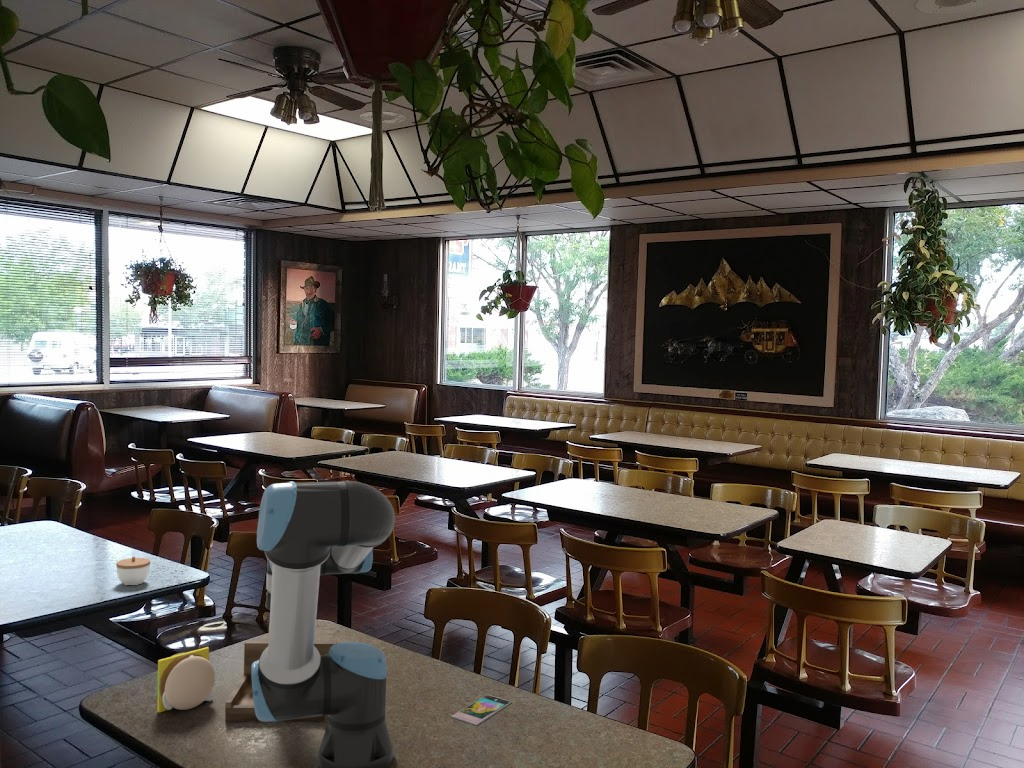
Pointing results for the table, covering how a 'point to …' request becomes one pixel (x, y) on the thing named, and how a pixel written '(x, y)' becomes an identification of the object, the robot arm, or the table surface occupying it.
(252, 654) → the drawer
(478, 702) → the smartphone
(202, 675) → the hamburger
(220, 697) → the table surface
